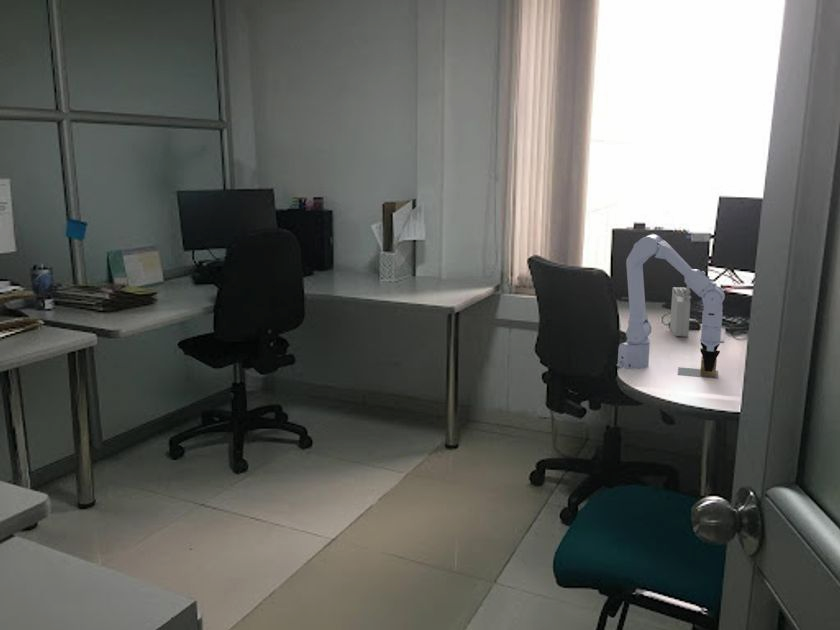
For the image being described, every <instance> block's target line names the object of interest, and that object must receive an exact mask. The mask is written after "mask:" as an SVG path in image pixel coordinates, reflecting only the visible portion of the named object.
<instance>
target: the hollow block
mask: <svg viewBox="0 0 840 630" xmlns="http://www.w3.org/2000/svg"><path fill="white" fill-rule="evenodd" d="M717 358H718V357H717ZM717 358H716V360H715V364H714V368H713V370H712V372H709V371H705V369H704V360H703V356H701V358H700V361H701V362H700V369H701V371H700V375H706V376H716V370H717V362H718V361H717Z"/></svg>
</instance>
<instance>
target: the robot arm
mask: <svg viewBox="0 0 840 630" xmlns="http://www.w3.org/2000/svg"><path fill="white" fill-rule="evenodd" d="M654 255H655V256H654ZM652 256H654V258H656V259H661V260H666V261H667V262H668V263H669V264H670V265H671V266H672V267H673V268H674V269H675V270H677V271H678V272H679V274H681V275H683V277H684V283H685V285H686V286H687V285H688V286H689V289H690V290H692V292H694V293H695V294H696V296H698V297H699V298H701V301H702V303H703V304H702V305H703V310H702V317H701V333H700V338H699V342H700V347H701V348H700V353H701V355H702V356H703V360H704V369H705V371H709V372H712V370H713V368H714V364H715V360H716V358H718V356H719V355H720V353H721V350H718V348H719V346H720V344H725V340H724V339H721V338H722V325H723V324H722V323H723V308H724V307H723V302H724V300H725V295H726V294H725V292H724V290H723V288H722V287H721V286H718V284H717V283H715V282H712V281H711V280H710V279H709V278H708V276H706V272H705V271H704V270H702V271H701V270H700V269H698V268H697V269H696V268H692V267H691V266H690V265H689V263H687V262H686V260H684V258H683V257H682V256H680V254H679V253H678V252H677V251H676V250H675V249H674V248H673V247H672V245H670V243H668V242H667V241H666V240H664V239H663V238H662V237H661V236H660V235H659V234H655V233H650V234H648V235H646V236H644V237H641V238H640V239H639V240H638V241H636V242H635V243H634V244H633V248H632V249H631V251H630V252H629V254H628V256H627V258H626V263H625V265H626V277H627V290H628V294H627V295H628V307H629V308H628V309H629V316H628V321H627V322H628V324H627V325H628V326H627V329H626V330H625V331H626V332H625V336H626V341H625V342H621V343H620V344H618V345H619V346H618V348H617V349H618V350H617V351H618V353H617V364H616V366H617V367H618V368H620V369H622V368H624V369H625V370H629V369H630V370H631V369H646V368H648V367H649V365H650V364H649V363H650V361H649V360H650V345H651V343H650V342H651V341H650V338H649V336H650V334H651V333H652V325H651V323H650V322H649V318H648V313H647V311H646V296H645V295H646V294H645V282H644V281H645V280H644V279H645V278H644V269H643V268H644V266H643V265H644V264H645V263H646V262H647V261H648V260H649V259H650V258H651V257H652ZM702 356H701V357H702Z"/></svg>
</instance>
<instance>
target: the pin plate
mask: <svg viewBox="0 0 840 630" xmlns="http://www.w3.org/2000/svg"><path fill="white" fill-rule="evenodd" d="M700 371H701V368H692V367H691V368H690V367H681V366H680V367H679V366H678V368H677V376H684V377H693V378H694V377H695V378H705V379H716V380H717V379H719V370H717V369H716V376H706V375H700Z"/></svg>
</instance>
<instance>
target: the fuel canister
mask: <svg viewBox="0 0 840 630" xmlns="http://www.w3.org/2000/svg"><path fill="white" fill-rule="evenodd" d="M671 294H672V295H671V308H670V322H669V323H670V324H669V330H670V331H671V332H672V334H673V335H674V337H676V336H678V337H677V338H681V337H683V338H689V332H690V331H689V329H690V319H691V317H690V316H691V314H690V313H691V299H692V296H691V289H690V287H689V286H688V285H687V284H686V287H676V286H675V287H674V286H673V287H672V290H671ZM679 336H680V337H679Z"/></svg>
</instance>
